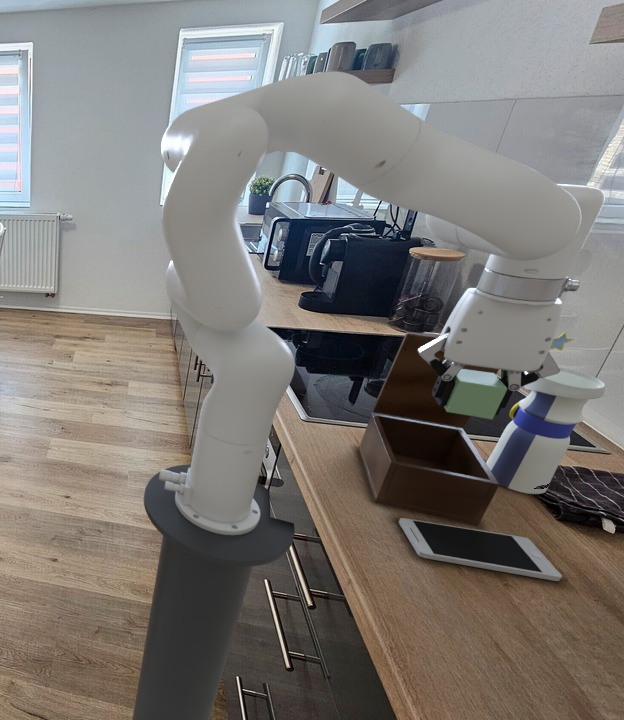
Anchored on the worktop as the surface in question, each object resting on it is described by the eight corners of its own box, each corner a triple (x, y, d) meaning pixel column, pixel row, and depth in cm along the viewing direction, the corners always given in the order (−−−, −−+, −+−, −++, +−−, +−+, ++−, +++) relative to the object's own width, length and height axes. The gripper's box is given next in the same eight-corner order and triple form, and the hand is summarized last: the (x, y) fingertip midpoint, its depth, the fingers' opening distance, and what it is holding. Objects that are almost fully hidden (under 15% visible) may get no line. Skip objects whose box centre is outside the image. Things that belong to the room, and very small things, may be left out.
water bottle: (465, 467, 86) (528, 335, 75) (502, 459, 87) (570, 328, 77) (521, 499, 79) (600, 357, 68) (561, 489, 80) (645, 349, 69)
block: (492, 419, 69) (507, 388, 67) (446, 412, 71) (460, 381, 69) (480, 403, 73) (494, 373, 71) (437, 396, 75) (449, 366, 73)
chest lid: (513, 346, 73) (503, 330, 77) (407, 334, 78) (402, 319, 82) (464, 427, 83) (457, 410, 86) (372, 412, 88) (369, 396, 91)
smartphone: (560, 582, 65) (564, 577, 64) (419, 557, 69) (421, 552, 68) (525, 542, 71) (528, 537, 70) (397, 521, 75) (399, 516, 75)
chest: (478, 525, 74) (499, 484, 71) (375, 502, 79) (391, 462, 76) (445, 465, 86) (463, 428, 83) (358, 448, 92) (371, 412, 88)
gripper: (596, 284, 64) (532, 406, 71) (427, 271, 71) (387, 383, 79) (630, 302, 58) (557, 433, 65) (442, 286, 65) (396, 405, 73)
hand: (464, 404), depth 72 cm, fingers closed on block, 5 cm apart
